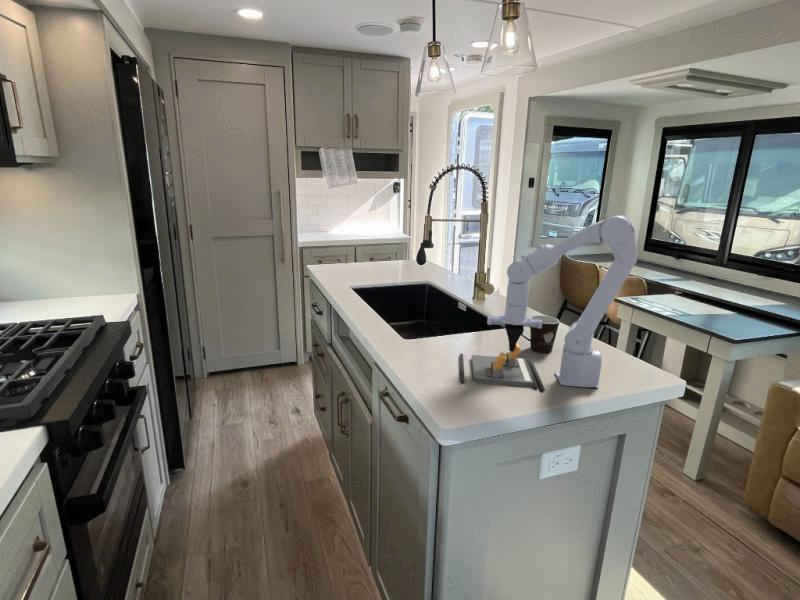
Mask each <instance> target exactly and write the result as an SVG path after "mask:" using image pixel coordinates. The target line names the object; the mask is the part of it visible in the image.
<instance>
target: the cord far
mask: <svg viewBox="0 0 800 600" xmlns="http://www.w3.org/2000/svg"><path fill="white" fill-rule="evenodd" d="M464 365H465V363H464V354H463V353H461V352H460V354H459V367H460V368H459V369H460V373H459V375H460V383H462V384H464V383H465V381H466V380H465V379H466V378H465V366H464Z"/></svg>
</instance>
